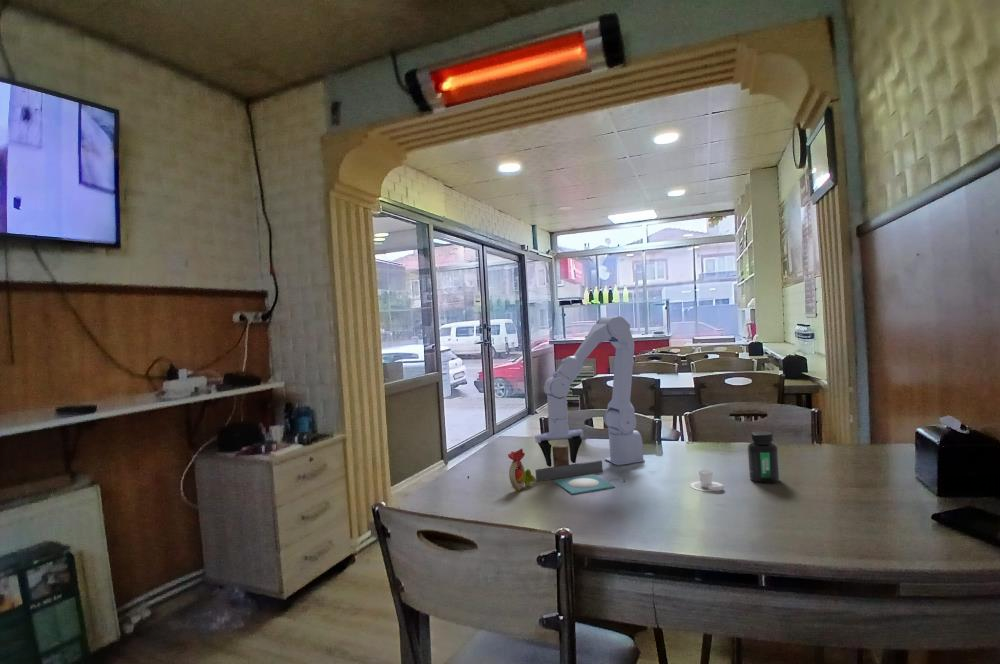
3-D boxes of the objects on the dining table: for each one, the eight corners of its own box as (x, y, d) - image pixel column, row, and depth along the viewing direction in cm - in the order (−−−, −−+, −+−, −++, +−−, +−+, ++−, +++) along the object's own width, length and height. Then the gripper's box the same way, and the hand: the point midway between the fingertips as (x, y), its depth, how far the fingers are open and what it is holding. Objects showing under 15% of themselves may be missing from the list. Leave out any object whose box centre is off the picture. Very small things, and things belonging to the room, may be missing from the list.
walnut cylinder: (565, 467, 155) (564, 444, 155) (571, 471, 151) (570, 447, 151) (551, 469, 154) (550, 446, 154) (557, 473, 150) (555, 449, 150)
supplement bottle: (772, 485, 127) (769, 437, 127) (744, 480, 133) (742, 433, 133) (784, 479, 132) (781, 432, 132) (757, 474, 137) (754, 429, 137)
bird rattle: (529, 499, 135) (538, 476, 143) (521, 466, 131) (530, 444, 139) (507, 498, 138) (517, 476, 145) (498, 465, 133) (509, 444, 141)
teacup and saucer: (728, 494, 125) (727, 477, 125) (693, 494, 127) (692, 477, 126) (720, 482, 134) (719, 467, 133) (688, 483, 135) (687, 467, 135)
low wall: (601, 470, 150) (600, 460, 150) (602, 471, 149) (602, 460, 149) (536, 480, 144) (535, 469, 144) (537, 481, 144) (536, 470, 143)
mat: (593, 475, 146) (593, 473, 146) (614, 487, 134) (614, 485, 134) (554, 481, 142) (554, 479, 142) (572, 494, 131) (571, 492, 131)
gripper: (575, 413, 158) (578, 457, 158) (530, 418, 154) (533, 464, 154) (585, 416, 151) (588, 463, 152) (538, 422, 147) (541, 470, 148)
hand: (561, 463), depth 152 cm, fingers open, 7 cm apart
